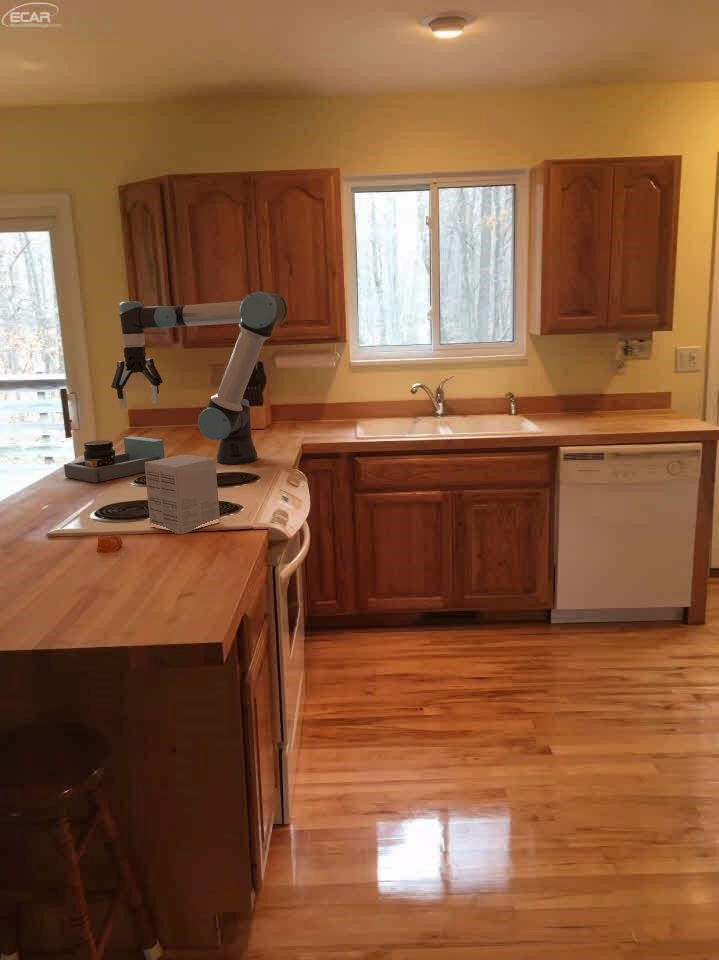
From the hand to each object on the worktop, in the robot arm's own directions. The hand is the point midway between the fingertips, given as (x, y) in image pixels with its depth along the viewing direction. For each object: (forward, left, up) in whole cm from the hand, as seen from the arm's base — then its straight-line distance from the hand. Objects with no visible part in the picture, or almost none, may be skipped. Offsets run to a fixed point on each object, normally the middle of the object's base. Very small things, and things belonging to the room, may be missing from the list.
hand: (139, 405), depth 282 cm
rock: (-78, +68, -23) cm, 106 cm away
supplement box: (-77, +45, -23) cm, 92 cm away
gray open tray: (0, +13, -22) cm, 26 cm away
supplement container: (0, +18, -23) cm, 29 cm away
